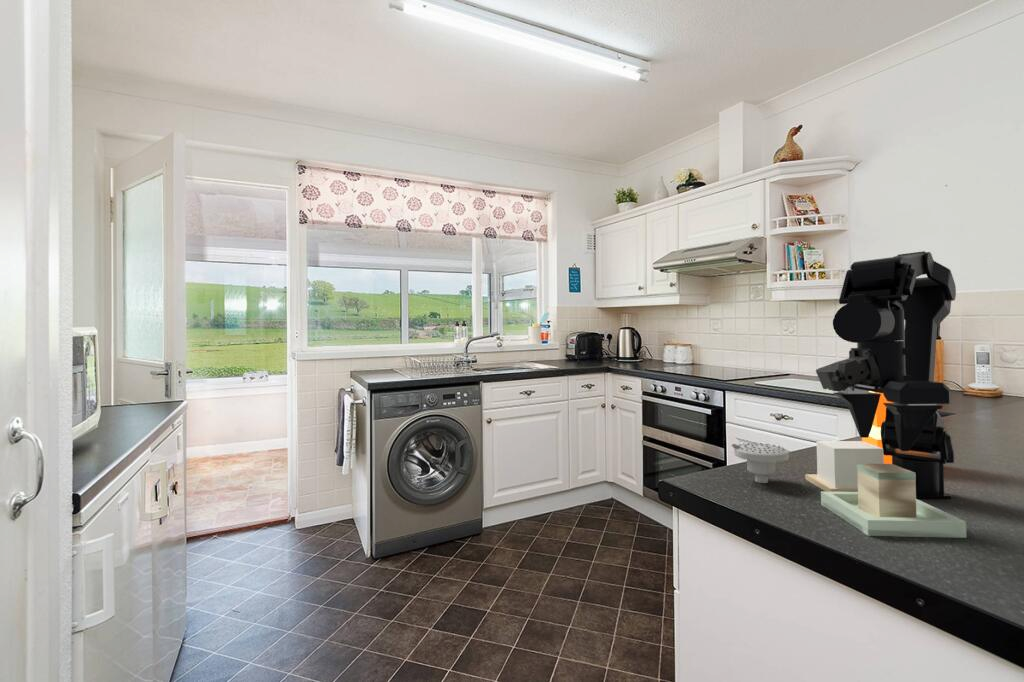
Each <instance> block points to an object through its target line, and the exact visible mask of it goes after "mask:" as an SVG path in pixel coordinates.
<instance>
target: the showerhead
mask: <svg viewBox="0 0 1024 682" xmlns="http://www.w3.org/2000/svg"><path fill="white" fill-rule="evenodd" d="M730 446H731V447H732V448H733V453H734V457H737V458H740V459H742V460H746V466H747V468H746V469H747V471H748V472H750V473H752V474H754V480H755V482H756V483H759V484H767V483H768V482H769V478H768V477H769V476H771V475H774V474H776V463H780V462H786V461H788V460H789V455H790V451H789V450H787V448H784V447H781V445H775V444H770V443H762V442H760V443H757V442H752V443H750V442H747V443H739V444H736V443H731V445H730Z"/></svg>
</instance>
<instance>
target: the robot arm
mask: <svg viewBox="0 0 1024 682" xmlns="http://www.w3.org/2000/svg"><path fill="white" fill-rule="evenodd" d="M849 268H850V269H847V270H846V273H845V276H844V281H843V285H842V287H841V292H840V295H839V299H838V300H839V301H838V303H839V304H840V305H843V306H841V307H840V308H839V309H838V310H837V311H836V313H835V314H834V317H833V320H832V326H833V330H834V331H835V333H836V335H837V336H838V337H839V338H840V339H842V340H843V341H846V342H848V343H856V347H850V350H849V351H848V358H844V359H842V360H838V361H835V362H833V363H831V364H827V365H825V366H822V367H819V368H816V370H815V372H816V375H817V377H818V380H819V382H820V385H821V388H822V389H823V390H829V391H832V393H833V395H834V396H836V397H838V398H839V399H840V400H842V401H843V402H845V404H846V406H847V407H848V410H849V411H850V415H851V416H852V420H853V422H854V425H855V427H856V431H857V433H858V435H859V437H860V438H861V439H862V438H868V437H869V434H870V432H871V429H872V425H873V422H874V418H875V414H876V411H877V407H878V403H879V400H880V396H881V394H878V393H883V395H884V397H885V398H886V400H887V401H889V402H894V403H883V404H884V405H885V406H886V407H887V408H886V417H885V421H883V422H882V424H881V440H882V447H883V453H884V455H886V456H888V455H890V456H892V464H894V465H896V466H899V467H901V468H904V469H907V470H909V471H912V472H915V473H916V499H917V498H919V499H925V498H926V499H927V498H928V499H953V497H952V496H953V495H952V494H950V493H948V492H945V477H944V475H945V474H944V473H945V472H944V469H945V468H944V465H947V464H955V448H954V444H953V439H952V436H951V435H949V432H948V430H947V428H946V427H944V423H945V422H944V419H943V418H942V416H941V415H940V413H939V412H938V410H943V408H944V405H945V404H946V405H948V404H951V403H952V402H951V401H952V399H951V389H950V387H948V386H947V385H946V384H944V382H939V381H934V380H935V368H936V349H937V338H938V336H937V335H938V326H939V325H940V324H941V323H942V322H943V321H944V320H945V319H946V318H947V316H948V315H949V314H950V313H951V307H952V301H955V300H956V297H957V289H956V288H957V287H956V282H955V279H954V277H953V274H952V271H951V269H950V268H948V267H946V266H944V265H942V263H938V262H937V261H935V260H934V258H933V254H932V253H931V252H930V251H925V250H924V251H922V250H921V251H915V252H914V251H913V252H908V253H907V252H906V253H900V254H897V255H896V256H895V255H894V256H893V257H891V256H890V257H885V258H883V257H882V258H876V259H868V260H861V261H860V260H859V261H854V262H853V263H852V264H851V265H850V267H849ZM923 275H926V277H920V276H923ZM869 391H872V392H869ZM873 392H878V393H873ZM938 452H939V453H938Z"/></svg>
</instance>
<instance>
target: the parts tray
mask: <svg viewBox="0 0 1024 682" xmlns="http://www.w3.org/2000/svg"><path fill="white" fill-rule="evenodd" d="M820 504H821V506H822V507H824V508H825V509H827V510H829V511H830V512H831V513H833V514H834V515H836V516H838V517H839V518H840V519H842V520H844V521H845V522H847V523H848V524H849V525H851V526H853V527H854V528H856V529H857V530H859V532H862V533H863V534H864V535H866V536H868V537H869V536H870V537H904V538H905V537H911V538H912V537H913V538H914V537H915V538H955V539H958V538H959V539H962V538H963V539H964V538H965V539H967V521H965V520H963V519H961V518H959V517H957V516H954V515H953V514H951V513H949V512H946V511H943V510H941V509H939V508H937V507H935V506H933V505H931V504H929V503H926V502H924V501H922V500H920V499H917V498H916V516H917V518H901V517H873V516H871V515H870V514H868V513H866V512H864V511H863V510H861V509H859V508H858V492H826V491H824V490H823V491H820Z"/></svg>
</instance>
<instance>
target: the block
mask: <svg viewBox="0 0 1024 682" xmlns="http://www.w3.org/2000/svg"><path fill="white" fill-rule="evenodd" d="M857 474H858V508H859V509H861V510H863V511H864V512H866V513H868V514H870V515H871V516H873V517H901V518H917V516H916V499H917V498H916V473H915V472H912V471H909V470H907V469H904V468H901V467H899V466H896V465H894V464H857Z"/></svg>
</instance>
